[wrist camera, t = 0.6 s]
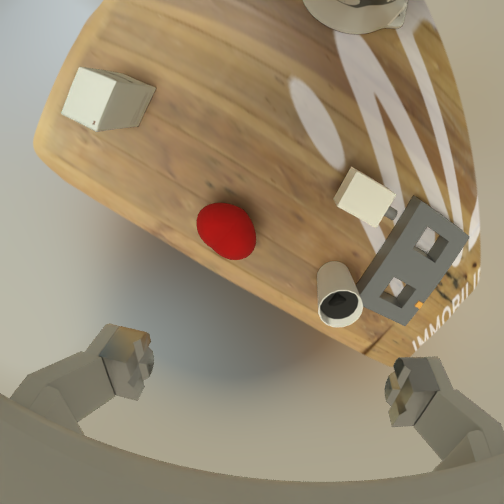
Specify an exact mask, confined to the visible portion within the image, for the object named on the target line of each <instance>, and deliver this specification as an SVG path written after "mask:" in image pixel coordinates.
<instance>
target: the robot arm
mask: <svg viewBox="0 0 504 504" xmlns="http://www.w3.org/2000/svg"><path fill="white" fill-rule="evenodd" d="M303 2H304V4H305V6H306V8H307V9H308V11H309V12H310V13H311V14H312V15H313V16H314V17H315V18H316V19H317V20H318V21H320V22H321V23H323V24H324V25H326V26H328V27H330V28H332V29H334V30H337V31H340V32H344V33H349V34H365V33H370V32H373V31H376V30H378V29H382V28H393V29H396V28H400V27H401V26H402V25H403V24H404V19H405V14H406V9H407V4H408V0H303ZM398 15H399V17H397V16H398ZM150 342H151V339H150V335H149V333H147V332H144V331H139V330H135V329H131V328H126V327H122V326H117V325H113V324H107V325H105V326H104V327H103V329H102V330H101V331H100V333H99V334H98V335H97V336H96V338H95V339H94V341H93V342H92V343H91V344H90V346H89V347H88V348H87V350H86V351H85V352H79V353H76V354H74V355H72V356H70V357H67V358H65V359H63V360H61V361H58V362H56V363H54V364H52V365H49V366H47V367H45V368H42V369H40V370H38V371H36V372H33V373H31V374H29V375H27V377H26V378H25V379H24V380H23V382H22V383H21V384H20V385H19V387H18V388H17V389H16V390H15V392H14V393H13V395H12V396H11V397H10V398H7V397H6V396H4V395H2V394H1V393H0V504H504V431H503V428H502V426H501V424H500V423H499V422H497V420H495V419H494V418H493V417H491V416H490V415H489V414H488V413H486V412H485V411H484V410H483V409H481V408H480V407H479V406H478V405H476V404H475V403H474V402H472V401H471V400H470V399H469V398H467V397H466V396H465V395H463V394H462V393H461V392H460V391H458V390H453V387H452V385H451V383H450V380H449V378H448V376H447V374H446V371H445V369H444V367H443V365H442V363H441V360H440V359H439V358H438V357H405V358H398V359H397V360H396V361H395V363H394V365H393V367H394V370H395V371H394V372H393V373H391V374H390V375H389V376H388V379H387V381H386V385H385V398H386V402H387V403H388V404H389V405H390V406H391V408H390V410H389V416H390V421H391V425H392V427H401V426H414V428H415V429H416V430H417V432H418V433H419V434H420V435H421V436H422V437H423V439H424V440H425V441H426V442H427V443H428V444H429V446H430V447H431V448H432V449H433V450H434V451H435V453H436V454H437V455H438V456H439V457H440V458H441V460H442V462H441V463H440V464H439V465H438V466H437V467H436V468H435V469H434V470H433V471H432V472H429V473H423V474H417V475H411V476H403V477H396V478H387V479H377V480H364V481H345V482H300V481H280V480H268V479H258V478H257V479H256V478H248V477H240V476H233V475H226V474H219V473H214V472H208V471H203V470H198V469H193V468H188V467H183V466H179V465H175V464H171V463H167V462H163V461H159V460H155V459H152V458H148V457H145V456H141V455H138V454H135V453H132V452H128V451H125V450H122V449H119V448H116V447H113V446H111V445H107V444H105V443H102V442H100V441H97V440H94V439H92V438H89V437H87V436H85V435H84V433H83V431H82V430H81V428H80V426H79V425H78V423H77V422H78V421H80V420H82V419H83V418H85V417H86V416H87V415H89V414H90V413H92V412H93V411H95V410H96V409H98V408H99V407H100V406H102V405H103V404H105V403H106V402H108V401H109V400H111V399H112V398H113V397H115V395H117V396H121V397H124V398H128V399H132V400H136V401H137V400H138V399H139V397H140V395H141V393H142V391H143V389H144V387H145V386H144V383H143V381H144V380H145V379H147V378H149V377H150V374H151V372H152V369H153V365H154V355H153V351H152V350H151V349H150V348H149V344H150Z"/></svg>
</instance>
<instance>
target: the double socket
mask: <svg viewBox="0 0 504 504" xmlns="http://www.w3.org/2000/svg"><path fill="white" fill-rule="evenodd" d="M427 226H428V227H429V228H431V229H432V230H434V231H435V232H436V233H438V234H439V235H440V236H439V237H438V239H437V241H436V242H435V244H434V245H433V247H432V248H431V250H430V251H429V253H428V254H426V253H425V252H423V251H422V250H420V249H418V248H417V247H415V245H416V243H417V242H418V240H419V239H420V237H421V236H422V234H423V232H424V231H425V229H426V228H427ZM468 239H469V236H468V235H467V234H466V233H464V232H463V231H462V230H461V229H459V228H458V227H457V226H456V225H454V224H453V223H452V222H450V221H449V220H448V219H446V218H445V217H444V216H442V215H441V214H439V213H438V212H437V211H435V210H434V209H433V208H431V207H430V206H428V205H427V204H425V203H424V202H423V201H421V200H420V199H418V198H417V197H415V196H414V195H413V197H412V199H411V200H410V202H409V204H408V206H407V207H406V209H405V211H404V212H403V214H402V216H401V217H400V219H399V220H398V222H397V224H396V225H395V227H394V229H393V230H392V232H391V233H390V235H389V236H388V238H387V240H386V241H385V243H384V244H383V246H382V247H381V249H380V250H379V252H378V253H377V255H376V256H375V258H374V260H373V261H372V262H371V264H370V265H369V267H368V268H367V270H366V271H365V273H364V274H363V276H362V277H361V279H360V280H359V282H358V283H357V284H356V288H357V290H358V293H359V295H360V297H361V300H362V303H363V307H366V308H368V309H370V310H372V311H374V312H376V313H378V314H380V315H382V316H385V317H387V318H389V319H391V320H393V321H395V322H397V323H399V324H401V325H404V326H406V325H407V323H408V322H409V321H410V320H411V319H412V317H413V316H414V315H415V314H416V312H417V311H418V310H419V309H420V307H421V306H422V305H423V303H424V302H425V301H426V299H427V298H428V297H429V295H430V294H431V293H432V291H433V290H434V289H435V287H436V286H437V285H438V283H439V282H440V280H441V279H442V278H443V276H444V275H445V273H446V272H447V270H448V269H449V268H450V266H451V265H452V263H453V262H454V260H455V259H456V257H457V256H458V254H459V253H460V251H461V250H462V248H463V246H464V245H465V243H466V242H467V240H468ZM393 277H395V278H397V279H399V280H401V281H403V282H404V283H406V284H407V285H406V286H405V287H404V289H403V290H402V291H401V293H400V294H399V295H398V297H397V298H396V297H394V296H392V295H390V294H388V293H386V292H384V290H385V288H386V287H387V286H388V284H389V283H390V281H391V280H392V279H393Z"/></svg>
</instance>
